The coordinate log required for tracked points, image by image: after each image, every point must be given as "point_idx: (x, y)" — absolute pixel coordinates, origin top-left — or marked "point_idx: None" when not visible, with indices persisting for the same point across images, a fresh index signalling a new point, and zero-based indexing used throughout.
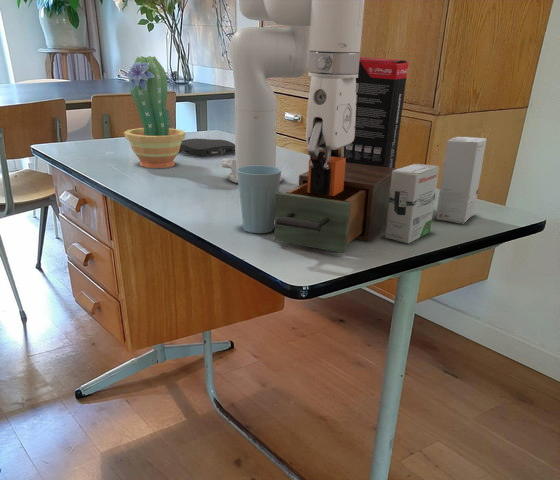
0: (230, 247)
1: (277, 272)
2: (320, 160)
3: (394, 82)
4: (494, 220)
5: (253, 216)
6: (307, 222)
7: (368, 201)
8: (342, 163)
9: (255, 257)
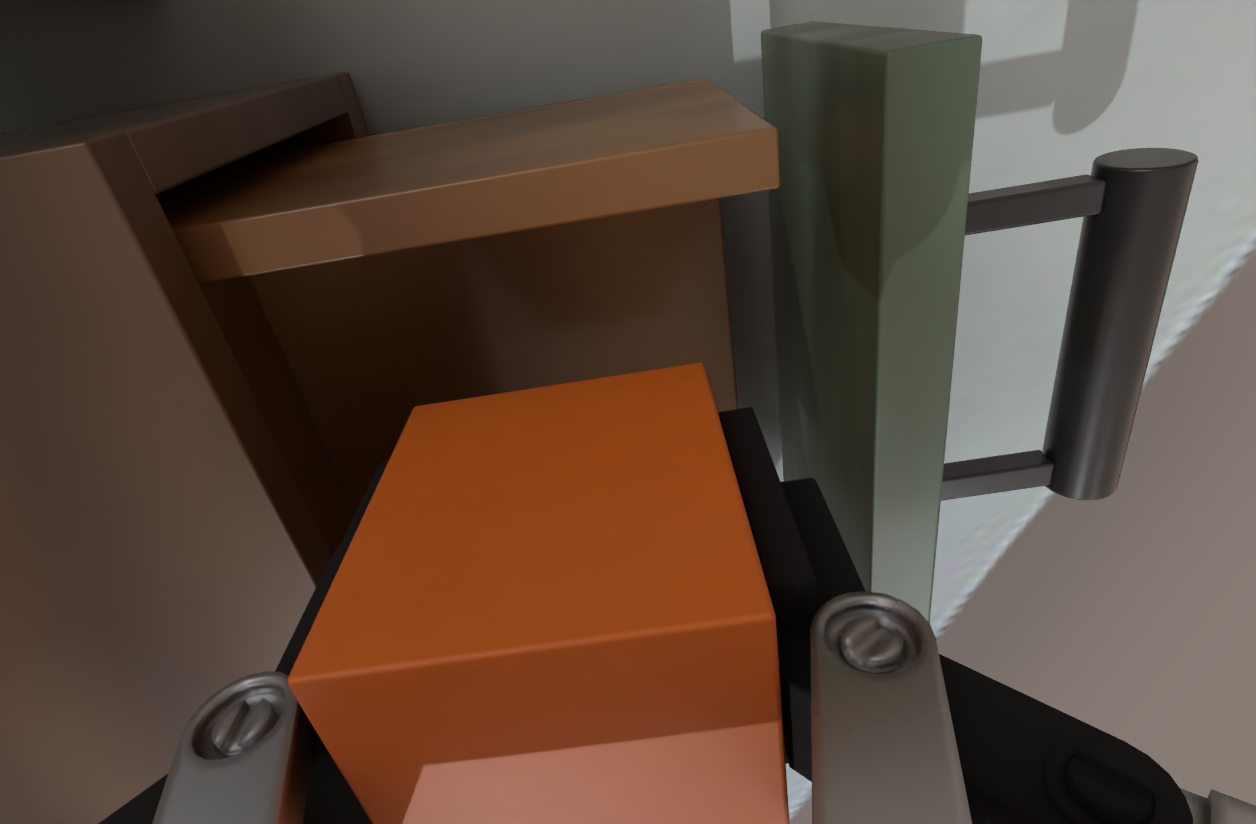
0: (937, 579)
1: (1214, 223)
2: (1099, 739)
3: None
4: None
5: None
6: (1168, 266)
7: (224, 152)
8: (448, 611)
9: (1024, 432)
